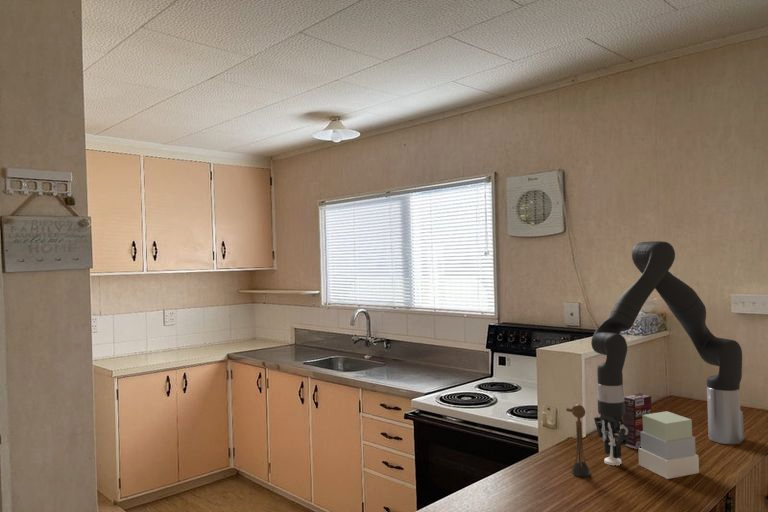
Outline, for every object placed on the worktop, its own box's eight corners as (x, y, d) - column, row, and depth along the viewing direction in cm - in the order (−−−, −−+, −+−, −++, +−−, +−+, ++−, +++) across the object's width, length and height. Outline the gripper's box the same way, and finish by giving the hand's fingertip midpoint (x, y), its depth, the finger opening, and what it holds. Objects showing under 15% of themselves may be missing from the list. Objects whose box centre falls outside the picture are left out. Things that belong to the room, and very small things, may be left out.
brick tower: (669, 459, 171) (667, 409, 171) (699, 472, 160) (697, 420, 160) (638, 464, 168) (637, 414, 168) (667, 478, 157) (665, 425, 157)
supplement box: (636, 449, 180) (634, 400, 180) (623, 445, 184) (621, 396, 184) (653, 444, 184) (652, 395, 184) (640, 440, 188) (638, 392, 188)
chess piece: (601, 460, 173) (600, 427, 173) (616, 458, 173) (615, 426, 173) (609, 466, 168) (607, 432, 168) (625, 464, 168) (623, 431, 168)
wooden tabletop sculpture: (565, 472, 164) (563, 404, 164) (573, 468, 167) (571, 400, 167) (584, 478, 160) (582, 407, 160) (592, 473, 163) (590, 404, 163)
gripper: (637, 402, 165) (639, 461, 165) (605, 391, 178) (607, 446, 178) (616, 405, 162) (618, 465, 163) (585, 394, 176) (587, 449, 176)
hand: (612, 455), depth 170 cm, fingers open, 3 cm apart
